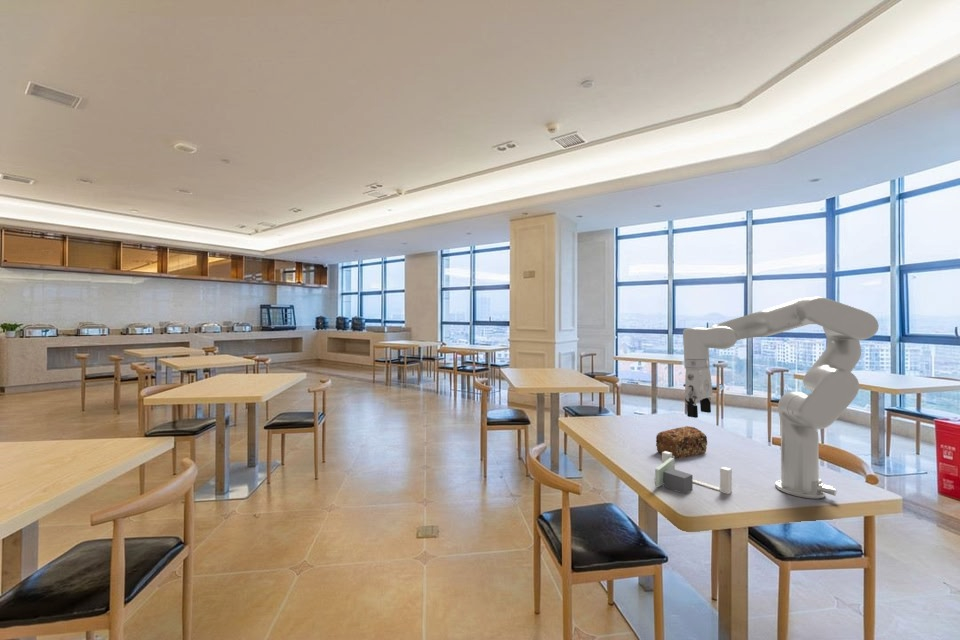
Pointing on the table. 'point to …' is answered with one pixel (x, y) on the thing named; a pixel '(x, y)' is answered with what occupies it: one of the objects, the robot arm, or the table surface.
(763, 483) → the table surface
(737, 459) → the table surface
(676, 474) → the block
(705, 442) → the bread
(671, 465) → the door
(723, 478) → the door frame
